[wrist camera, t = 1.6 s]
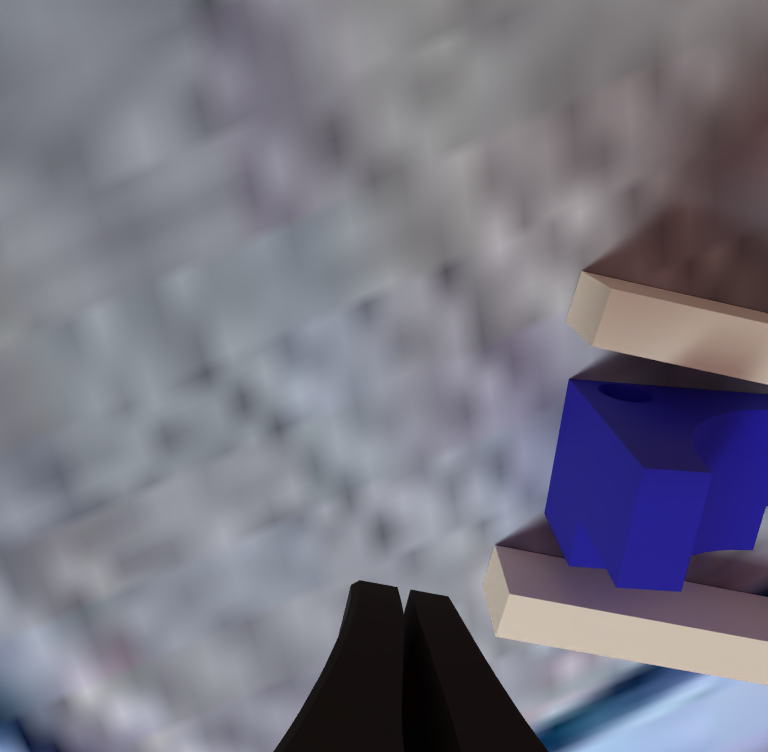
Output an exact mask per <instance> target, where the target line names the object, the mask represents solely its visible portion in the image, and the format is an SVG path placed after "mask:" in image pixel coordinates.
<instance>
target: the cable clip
mask: <svg viewBox="0 0 768 752" xmlns="http://www.w3.org/2000/svg"><path fill="white" fill-rule="evenodd" d="M766 506H768V394H758V393H745V392H732V391H719V390H706V389H693V388H680V387H667V386H654V385H641V384H628V383H615V382H603V381H590V380H577V379H569V381H568V387H567V392H566V398H565V403H564V409H563V414H562V420H561V425H560V431H559V436H558V442H557V448H556V453H555V459H554V464H553V470H552V475H551V481H550V486H549V492H548V497H547V503H546V508H545V516H546V518H547V520H548V522H549V524H550V526H551V529H552V531H553V533H554V535H555V537H556V539H557V542H558V544H559V546H560V548H561V550H562V552H563V555H564V557H565V559H566V561H567V563H568V565H569V566H570V567H585V568H600V569H606V570H607V572H608V573H609V575H610V577H611V579H612V581H613V583H614V584H615V586H616V588H629V589H644V590H660V591H675V592H681V591H682V587H683V583H684V580H685V576H686V572H687V568H688V565H689V561H690V557H691V556H692V555H696V554H700V553H704V552H710V551H718V550H753V548H754V544H755V541H756V538H757V534H758V531H759V528H760V524H761V521H762V518H763V514H764V511H765V508H766Z"/></svg>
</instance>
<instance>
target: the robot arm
mask: <svg viewBox="0 0 768 752" xmlns="http://www.w3.org/2000/svg"><path fill="white" fill-rule="evenodd" d="M274 752H548V751H547V749H546V748H545V747H544V745H543V744H542V742H541V741H540V740H539V738H538V737H537V736H536V734H535V733H534V732H533V730H532V729H531V728H530V726H529V725H528V723H527V722H526V721H525V719H524V718H523V716H522V715H521V713H520V712H519V710H518V709H517V707H516V706H515V704H514V703H513V701H512V700H511V698H510V697H509V695H508V694H507V692H506V691H505V689H504V688H503V686H502V684H501V683H500V681H499V680H498V678H497V677H496V675H495V674H494V672H493V670H492V669H491V667H490V666H489V664H488V662H487V661H486V659H485V657H484V656H483V654H482V652H481V651H480V649H479V647H478V646H477V644H476V642H475V641H474V639H473V637H472V636H471V634H470V632H469V631H468V629H467V627H466V625H465V624H464V622H463V620H462V619H461V617H460V615H459V613H458V612H457V610H456V608H455V607H454V605H453V603H452V602H451V600H450V599H449V597H448V596H443V595H437V594H432V593H426V592H421V591H415V590H410V594H409V597H408V601H407V605H406V608H405V612H404V613H403V608H402V603H401V599H400V595H399V591H398V588H397V587H394V586H388V585H383V584H377V583H372V582H366V581H361V580H359V581H358V582H356V583H354V584H352V585H351V587H350V591H349V595H348V600H347V604H346V608H345V612H344V616H343V620H342V624H341V628H340V632H339V636H338V639H337V641H336V643H335V645H334V648H333V650H332V652H331V654H330V656H329V659H328V661H327V663H326V665H325V667H324V669H323V671H322V673H321V675H320V677H319V678H318V680H317V682H316V684H315V686H314V687H313V689H312V691H311V693H310V694H309V696H308V698H307V700H306V701H305V703H304V705H303V707H302V709H301V710H300V712H299V714H298V715H297V717H296V718H295V720H294V722H293V723H292V725H291V726H290V728H289V729H288V731H287V732H286V734H285V736H284V737H283V739H282V740H281V742H280V743H279V744H278V746H277V747H276V749H275V750H274Z"/></svg>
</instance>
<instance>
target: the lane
mask: <svg viewBox="0 0 768 752" xmlns="http://www.w3.org/2000/svg"><path fill="white" fill-rule="evenodd" d="M566 323H567V324H568V325H569V326H570V327H571V328H572V329H574V330H575V331H576V332H577V333H578V334H579V335H580V336H581V337H582V338H583V339H585V340H586V341H587V342H588V343H589V344H590V345H591V346H592V347H597V348H602V349H606V350H611V351H615V352H620V353H625V354H629V355H634V356H638V357H643V358H648V359H652V360H657V361H661V362H666V363H671V364H675V365H680V366H684V367H689V368H694V369H698V370H703V371H707V372H712V373H717V374H721V375H726V376H730V377H735V378H740V379H744V380H749V381H753V382H758V383H763V384H767V385H768V313H765V312H760V311H756V310H751V309H747V308H743V307H738V306H734V305H729V304H725V303H720V302H716V301H712V300H707V299H703V298H698V297H694V296H690V295H685V294H681V293H676V292H672V291H668V290H663V289H659V288H654V287H650V286H645V285H641V284H637V283H632V282H628V281H623V280H619V279H615V278H610V277H606V276H601V275H597V274H592V273H588V272H584V271H582V272H581V275H580V278H579V281H578V285H577V288H576V291H575V294H574V297H573V300H572V304H571V307H570V310H569V313H568V316H567V319H566ZM483 588H484V592H485V596H486V600H487V604H488V608H489V612H490V616H491V620H492V624H493V629H494V633H495V637H501V638H507V639H512V640H518V641H523V642H529V643H535V644H540V645H546V646H551V647H557V648H562V649H568V650H574V651H579V652H585V653H590V654H596V655H601V656H607V657H613V658H618V659H624V660H629V661H635V662H641V663H646V664H652V665H657V666H663V667H668V668H674V669H680V670H685V671H691V672H696V673H702V674H708V675H713V676H719V677H724V678H730V679H735V680H741V681H747V682H752V683H758V684H763V685H768V597H765V596H759V595H754V594H749V593H744V592H738V591H733V590H728V589H723V588H717V587H712V586H707V585H702V584H696V583H691V582H686V581H684V583H683V587H682V591H681V592H675V591H660V590H644V589H629V588H616V586H615V584H614V583H613V581H612V579H611V577H610V575H609V573H608V572H607V570H606V569H600V568H585V567H570V566H569V565H568V563H567V561H566V559H565V558H560V557H555V556H549V555H544V554H539V553H534V552H528V551H523V550H518V549H513V548H507V547H502V546H497V545H495V547H494V550H493V553H492V556H491V559H490V562H489V565H488V569H487V572H486V575H485V578H484V581H483Z"/></svg>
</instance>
